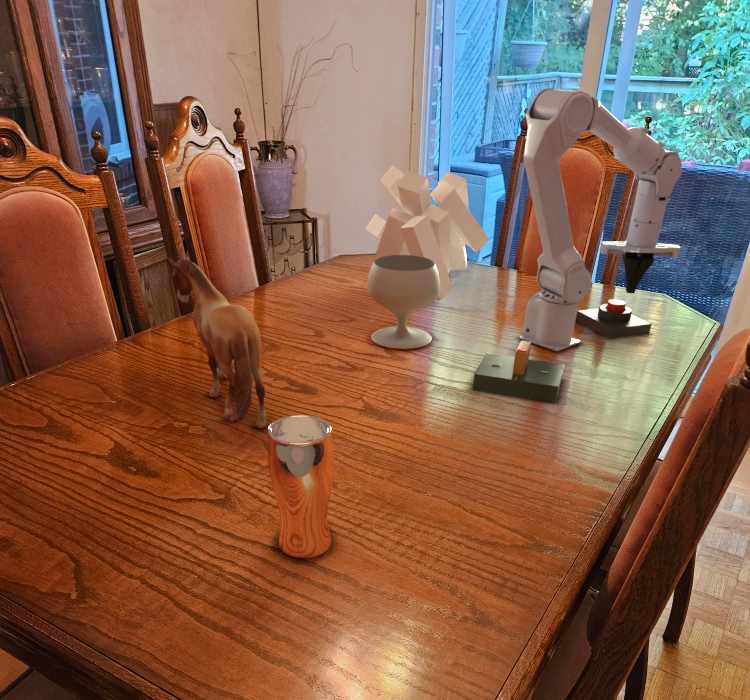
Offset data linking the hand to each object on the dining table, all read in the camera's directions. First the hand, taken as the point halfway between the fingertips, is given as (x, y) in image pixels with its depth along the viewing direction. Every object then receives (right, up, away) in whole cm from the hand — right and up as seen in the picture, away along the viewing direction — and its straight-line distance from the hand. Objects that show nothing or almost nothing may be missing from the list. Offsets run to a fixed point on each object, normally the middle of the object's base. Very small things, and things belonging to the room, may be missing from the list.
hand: (629, 291), depth 135 cm
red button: (-1, -2, +5) cm, 6 cm away
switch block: (-1, -5, +7) cm, 9 cm away
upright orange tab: (-27, -20, -20) cm, 39 cm away
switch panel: (-27, -22, -18) cm, 39 cm away
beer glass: (-60, -47, -57) cm, 95 cm away
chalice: (-46, -10, -1) cm, 47 cm away
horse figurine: (-77, -28, -29) cm, 87 cm away
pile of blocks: (-39, +12, +32) cm, 52 cm away
